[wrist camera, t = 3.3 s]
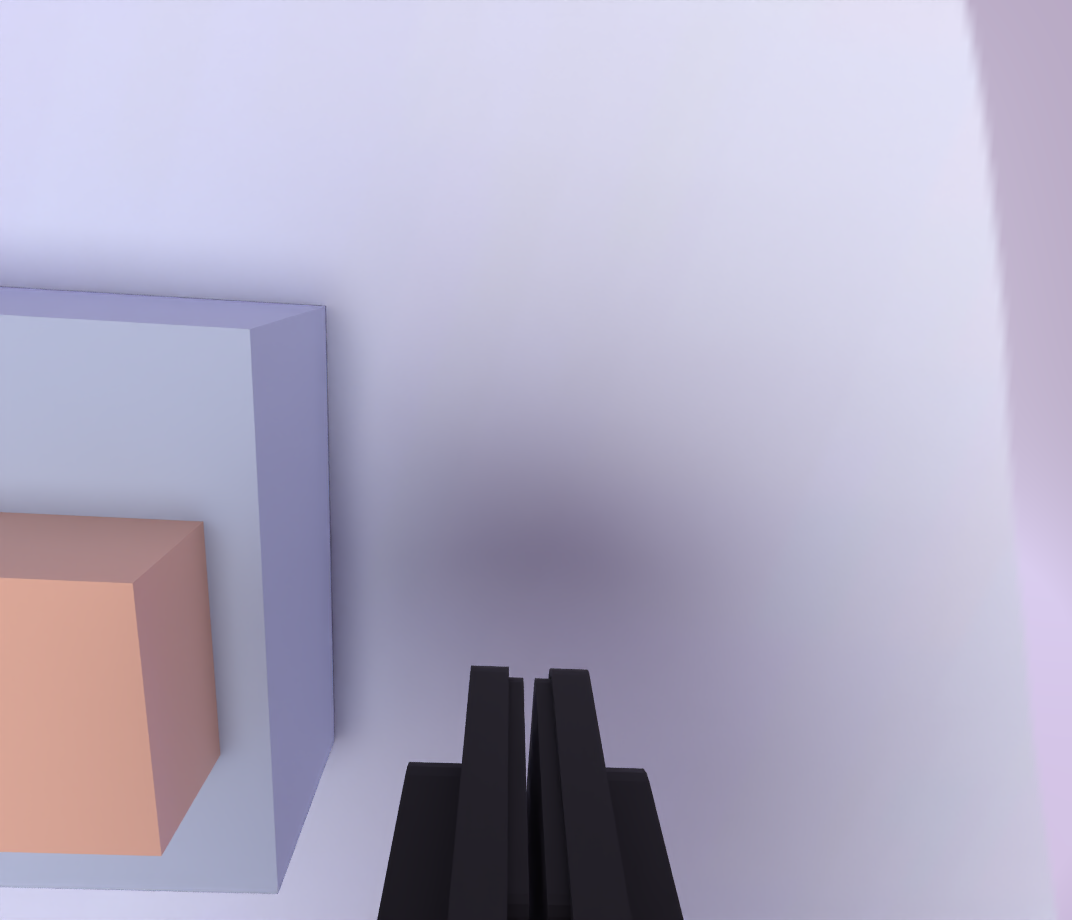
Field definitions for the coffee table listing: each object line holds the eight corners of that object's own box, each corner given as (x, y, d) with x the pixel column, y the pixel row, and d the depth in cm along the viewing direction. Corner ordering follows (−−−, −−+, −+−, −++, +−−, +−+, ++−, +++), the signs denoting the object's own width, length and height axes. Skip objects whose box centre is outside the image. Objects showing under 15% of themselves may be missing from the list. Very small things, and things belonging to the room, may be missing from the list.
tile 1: (203, 521, 13) (132, 583, 11) (220, 754, 14) (161, 855, 12) (-83, 507, 13) (-222, 568, 10) (-38, 746, 14) (-151, 847, 12)
